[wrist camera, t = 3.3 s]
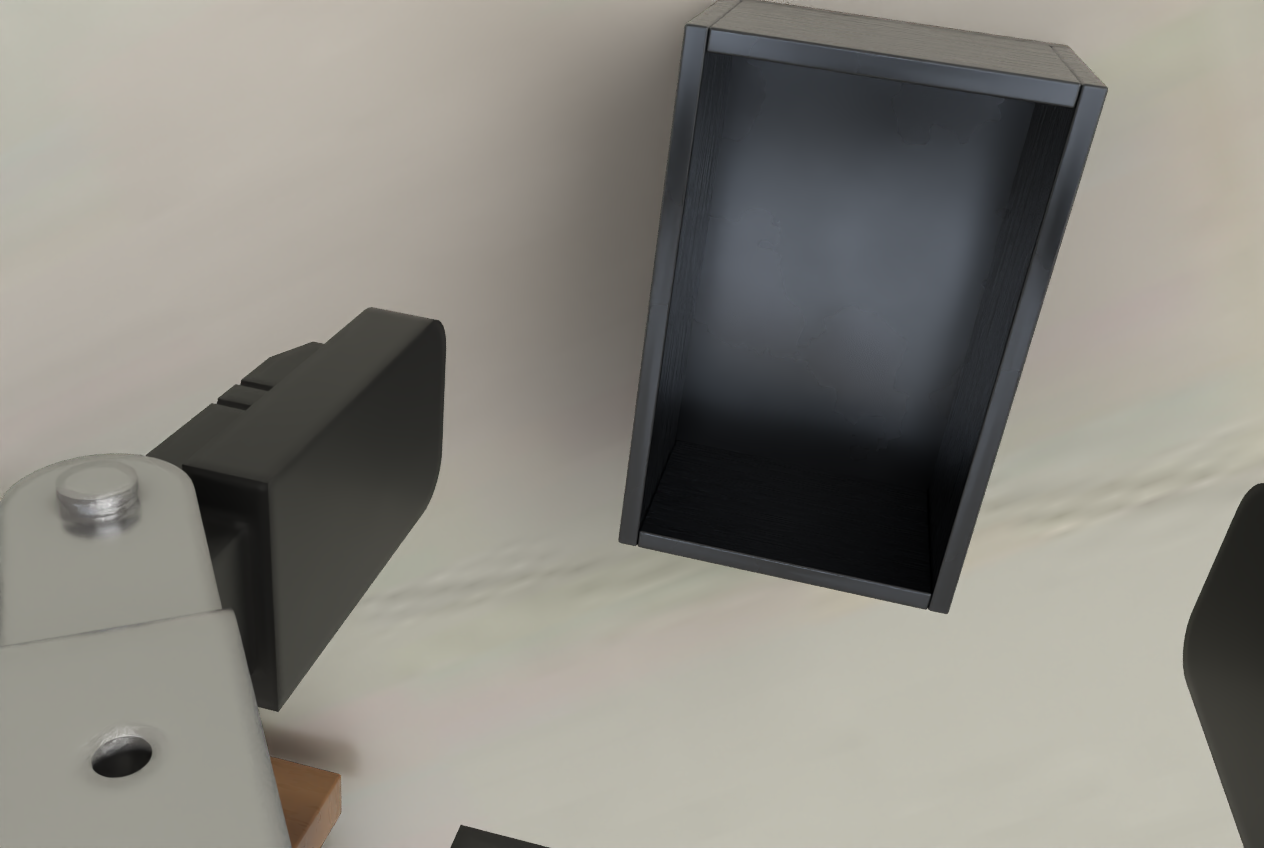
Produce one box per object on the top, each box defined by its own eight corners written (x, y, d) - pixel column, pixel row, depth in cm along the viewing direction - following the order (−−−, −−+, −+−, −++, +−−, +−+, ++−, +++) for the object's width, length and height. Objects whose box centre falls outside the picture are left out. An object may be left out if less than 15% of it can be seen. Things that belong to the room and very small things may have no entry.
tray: (1069, 45, 16) (1109, 87, 13) (940, 497, 19) (947, 615, 16) (725, -6, 17) (684, 22, 14) (660, 441, 20) (617, 543, 17)
